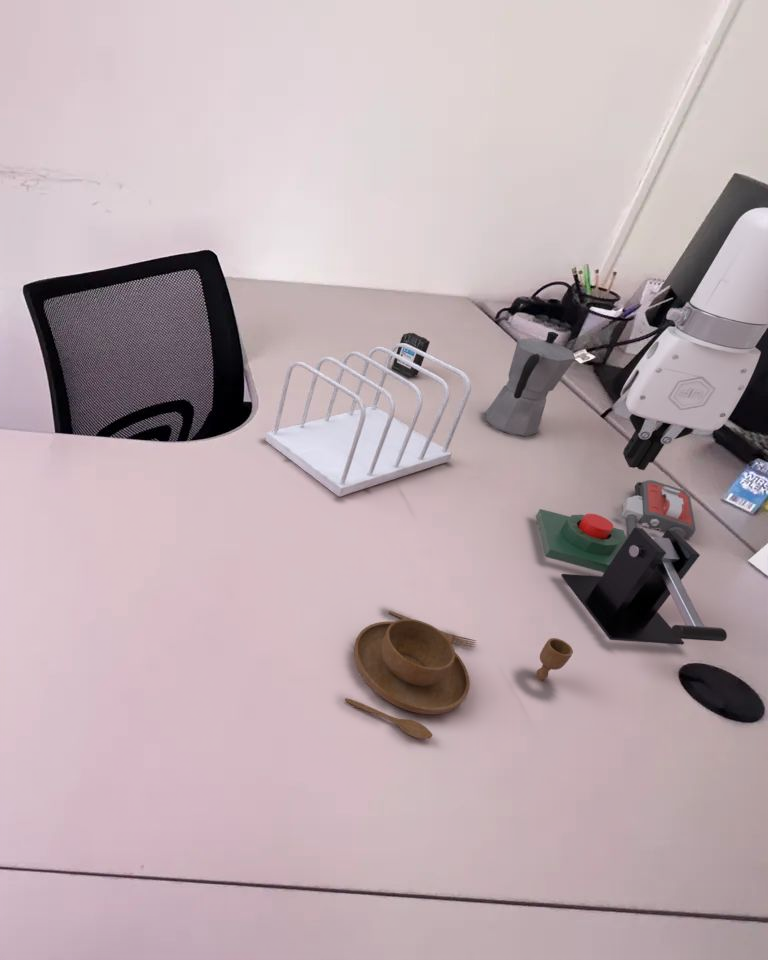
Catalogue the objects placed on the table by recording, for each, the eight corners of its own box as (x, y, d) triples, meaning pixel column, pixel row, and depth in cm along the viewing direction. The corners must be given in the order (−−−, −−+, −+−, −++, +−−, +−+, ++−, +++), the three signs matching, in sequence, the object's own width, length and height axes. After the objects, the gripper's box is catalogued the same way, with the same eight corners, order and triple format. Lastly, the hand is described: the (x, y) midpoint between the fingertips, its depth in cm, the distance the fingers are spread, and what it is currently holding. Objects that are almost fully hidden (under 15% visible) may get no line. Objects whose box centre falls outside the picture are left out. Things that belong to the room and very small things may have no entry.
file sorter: (370, 414, 123) (398, 334, 114) (448, 463, 111) (486, 378, 102) (264, 440, 111) (285, 353, 103) (338, 499, 100) (369, 406, 91)
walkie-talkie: (618, 485, 110) (618, 548, 96) (632, 462, 107) (634, 524, 93) (681, 505, 107) (691, 574, 92) (697, 482, 104) (710, 550, 90)
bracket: (679, 649, 80) (739, 576, 73) (606, 644, 80) (660, 570, 73) (623, 584, 89) (672, 514, 82) (557, 580, 89) (601, 509, 82)
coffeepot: (496, 403, 131) (536, 315, 121) (547, 422, 126) (593, 332, 116) (467, 428, 122) (508, 335, 111) (521, 450, 117) (569, 355, 106)
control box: (615, 541, 97) (629, 520, 95) (632, 586, 89) (648, 563, 87) (533, 520, 99) (545, 498, 97) (542, 561, 92) (556, 539, 89)
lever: (715, 645, 73) (733, 636, 71) (671, 642, 73) (688, 633, 71) (666, 549, 81) (680, 538, 79) (625, 546, 80) (639, 535, 78)
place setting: (371, 601, 82) (386, 565, 79) (550, 677, 75) (575, 640, 71) (330, 701, 69) (346, 664, 66) (542, 805, 62) (572, 768, 58)
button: (604, 527, 93) (610, 517, 92) (610, 543, 90) (616, 532, 89) (575, 520, 94) (581, 510, 93) (580, 535, 91) (586, 525, 90)
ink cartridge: (390, 368, 141) (402, 332, 136) (397, 367, 142) (409, 331, 137) (410, 378, 137) (423, 342, 133) (417, 376, 138) (430, 340, 134)
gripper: (653, 324, 74) (574, 462, 85) (812, 355, 71) (709, 495, 81) (636, 303, 80) (564, 435, 91) (782, 330, 77) (690, 464, 87)
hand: (633, 463), depth 86 cm, fingers closed
